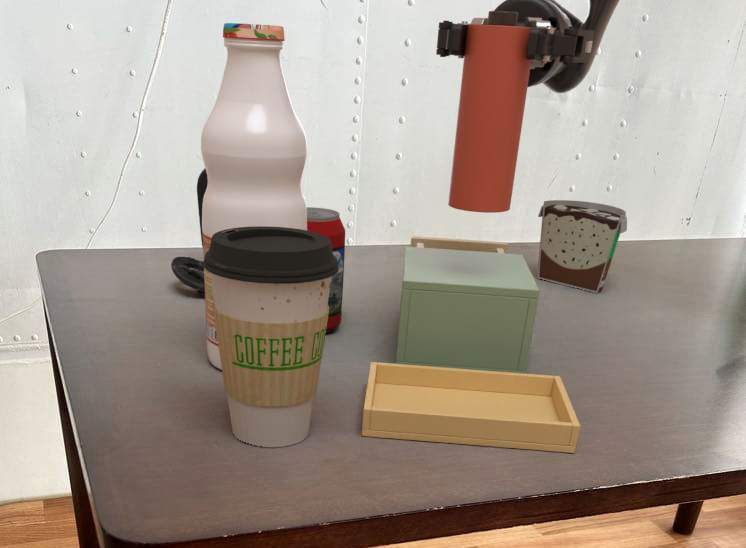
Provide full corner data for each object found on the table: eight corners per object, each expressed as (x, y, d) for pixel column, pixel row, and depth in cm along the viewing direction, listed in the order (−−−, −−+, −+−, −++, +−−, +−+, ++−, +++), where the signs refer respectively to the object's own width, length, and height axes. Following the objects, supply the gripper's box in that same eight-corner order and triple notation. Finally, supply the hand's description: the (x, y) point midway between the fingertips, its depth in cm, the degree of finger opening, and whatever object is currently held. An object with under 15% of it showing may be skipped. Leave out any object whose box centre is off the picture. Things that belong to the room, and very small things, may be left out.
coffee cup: (289, 469, 61) (293, 261, 53) (184, 436, 65) (173, 239, 57) (352, 425, 68) (364, 237, 60) (254, 398, 72) (253, 219, 64)
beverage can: (282, 337, 87) (284, 218, 80) (277, 318, 92) (277, 205, 86) (345, 337, 88) (351, 219, 81) (335, 318, 93) (340, 206, 87)
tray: (555, 400, 75) (560, 376, 74) (574, 453, 66) (580, 425, 64) (369, 386, 76) (370, 361, 75) (361, 436, 66) (363, 408, 65)
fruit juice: (187, 363, 79) (169, 19, 64) (245, 339, 86) (241, 23, 71) (267, 385, 75) (267, 24, 60) (321, 358, 82) (334, 28, 67)
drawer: (406, 283, 105) (411, 227, 101) (495, 289, 104) (504, 234, 101) (404, 326, 89) (410, 262, 86) (508, 334, 89) (519, 270, 85)
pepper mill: (507, 203, 77) (534, 14, 69) (512, 214, 72) (542, 12, 64) (447, 199, 77) (467, 10, 69) (448, 210, 72) (470, 9, 64)
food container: (629, 288, 112) (647, 211, 106) (607, 296, 108) (625, 216, 102) (550, 270, 119) (564, 196, 113) (527, 276, 115) (540, 200, 109)
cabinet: (398, 324, 92) (405, 246, 88) (510, 333, 92) (523, 254, 87) (395, 369, 80) (403, 280, 76) (524, 379, 79) (539, 290, 75)
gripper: (459, -6, 79) (412, -18, 66) (611, -1, 75) (595, -12, 62) (450, 82, 83) (404, 88, 70) (594, 92, 79) (575, 100, 66)
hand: (494, 41), depth 66 cm, fingers closed on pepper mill, 5 cm apart
